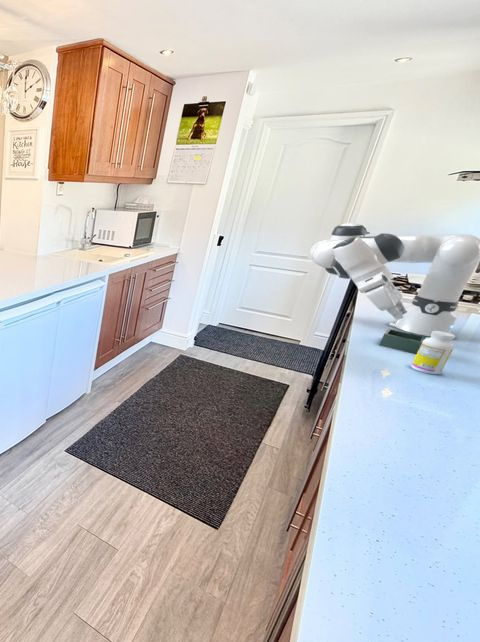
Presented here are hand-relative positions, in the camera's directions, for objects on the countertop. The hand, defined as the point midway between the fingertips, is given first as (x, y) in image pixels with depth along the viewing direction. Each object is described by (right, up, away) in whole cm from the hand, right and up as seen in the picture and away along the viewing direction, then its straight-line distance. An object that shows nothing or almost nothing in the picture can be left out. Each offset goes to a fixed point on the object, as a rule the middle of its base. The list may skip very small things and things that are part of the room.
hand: (402, 316), depth 130 cm
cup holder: (+19, -10, +18) cm, 28 cm away
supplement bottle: (+6, -18, -1) cm, 19 cm away
